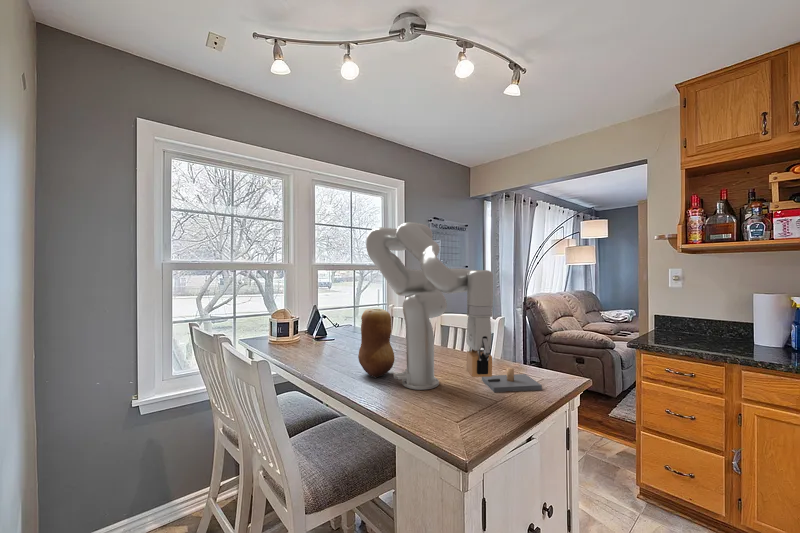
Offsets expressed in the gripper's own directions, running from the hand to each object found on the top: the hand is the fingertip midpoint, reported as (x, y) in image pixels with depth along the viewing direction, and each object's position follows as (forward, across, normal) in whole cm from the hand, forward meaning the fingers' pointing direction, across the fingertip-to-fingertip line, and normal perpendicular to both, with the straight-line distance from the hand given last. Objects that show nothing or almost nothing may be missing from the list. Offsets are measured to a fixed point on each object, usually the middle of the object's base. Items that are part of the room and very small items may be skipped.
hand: (478, 369), depth 106 cm
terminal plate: (+9, -11, +15) cm, 21 cm away
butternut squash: (+11, -28, -30) cm, 43 cm away
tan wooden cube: (+1, 0, 0) cm, 1 cm away
